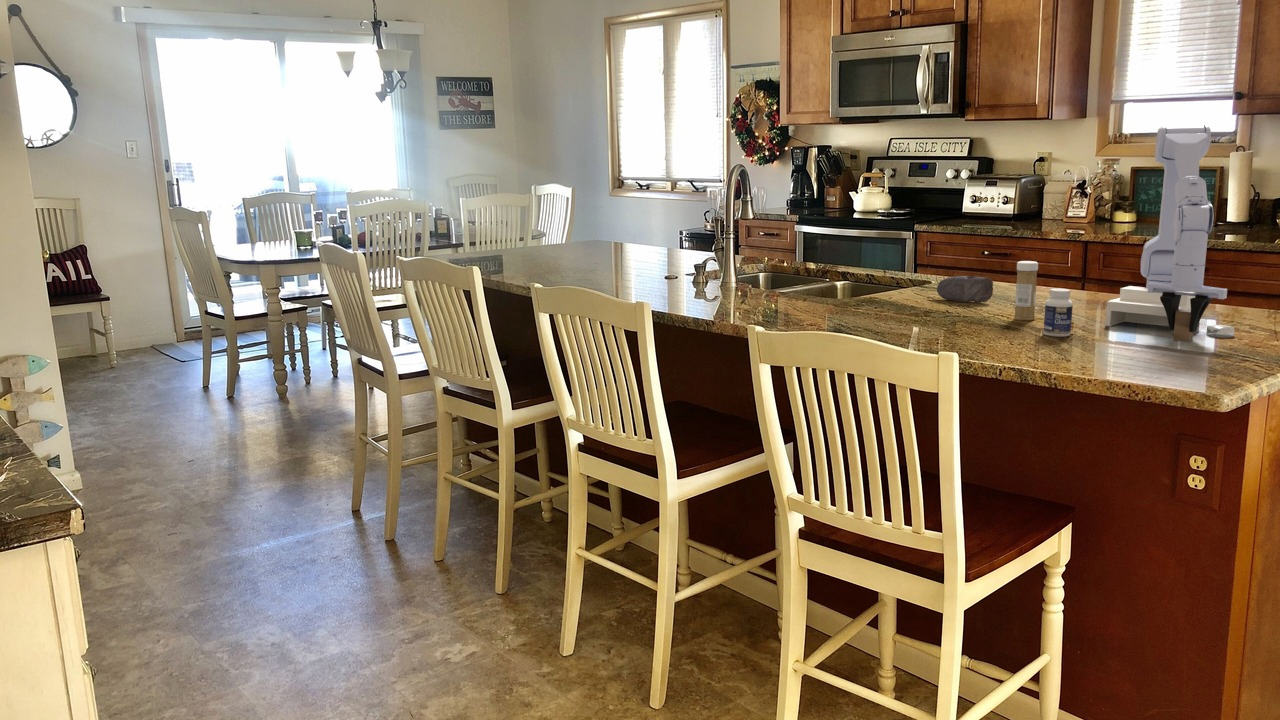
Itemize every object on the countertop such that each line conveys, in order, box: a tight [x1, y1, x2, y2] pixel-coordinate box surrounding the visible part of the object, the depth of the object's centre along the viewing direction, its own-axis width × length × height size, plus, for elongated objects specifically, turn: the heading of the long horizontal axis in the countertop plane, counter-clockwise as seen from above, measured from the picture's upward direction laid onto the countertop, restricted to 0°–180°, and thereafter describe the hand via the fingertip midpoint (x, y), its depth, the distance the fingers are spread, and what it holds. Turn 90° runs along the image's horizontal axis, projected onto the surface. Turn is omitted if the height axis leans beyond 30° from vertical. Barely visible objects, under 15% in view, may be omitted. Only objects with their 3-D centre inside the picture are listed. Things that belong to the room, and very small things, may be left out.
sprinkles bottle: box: [1013, 260, 1039, 322], centre depth 233 cm, size 5×5×13 cm
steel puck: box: [1205, 324, 1235, 339], centre depth 212 cm, size 5×5×2 cm
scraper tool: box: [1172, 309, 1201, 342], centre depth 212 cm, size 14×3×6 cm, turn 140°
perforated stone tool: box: [936, 275, 994, 304], centre depth 260 cm, size 15×5×7 cm, turn 41°
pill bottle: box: [1042, 287, 1074, 338], centre depth 215 cm, size 5×5×10 cm
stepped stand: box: [1105, 285, 1195, 327], centre depth 222 cm, size 9×15×8 cm, turn 42°
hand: (1182, 330), depth 208 cm, fingers closed on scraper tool, 3 cm apart
